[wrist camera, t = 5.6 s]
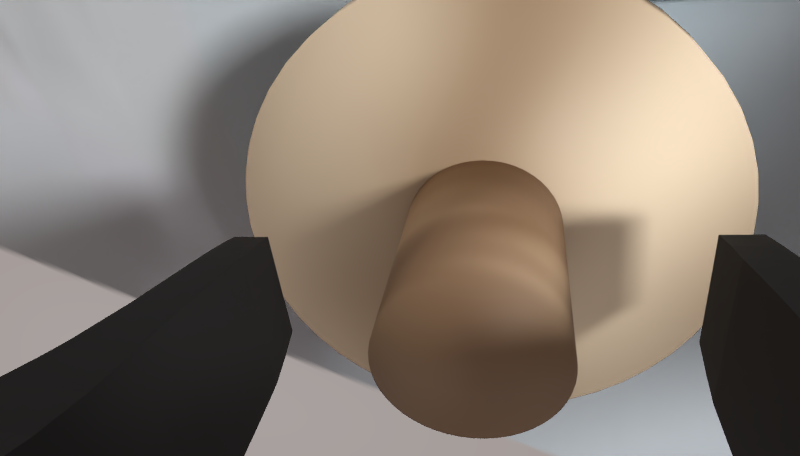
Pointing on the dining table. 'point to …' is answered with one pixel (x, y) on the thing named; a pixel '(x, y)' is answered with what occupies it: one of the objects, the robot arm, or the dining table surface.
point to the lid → (499, 198)
